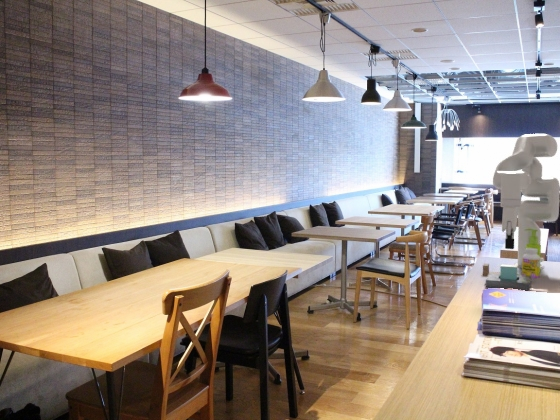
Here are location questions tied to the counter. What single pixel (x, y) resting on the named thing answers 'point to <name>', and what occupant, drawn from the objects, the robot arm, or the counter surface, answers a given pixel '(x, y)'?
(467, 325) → the counter surface
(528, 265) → the supplement bottle
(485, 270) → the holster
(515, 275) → the plug
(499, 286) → the port
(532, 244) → the soap dispenser
